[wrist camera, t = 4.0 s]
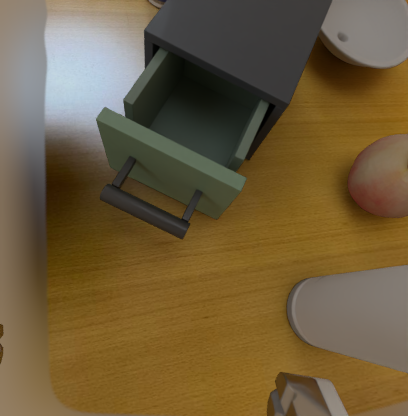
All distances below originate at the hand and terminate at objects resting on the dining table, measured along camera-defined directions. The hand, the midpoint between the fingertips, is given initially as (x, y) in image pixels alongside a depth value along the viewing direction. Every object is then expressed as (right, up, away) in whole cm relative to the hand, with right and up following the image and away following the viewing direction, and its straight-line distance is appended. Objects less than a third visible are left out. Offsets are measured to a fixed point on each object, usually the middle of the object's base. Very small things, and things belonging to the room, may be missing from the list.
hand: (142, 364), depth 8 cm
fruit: (+20, +7, +25) cm, 33 cm away
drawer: (0, +10, +21) cm, 23 cm away
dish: (+20, +27, +31) cm, 46 cm away
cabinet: (+4, +19, +25) cm, 32 cm away
